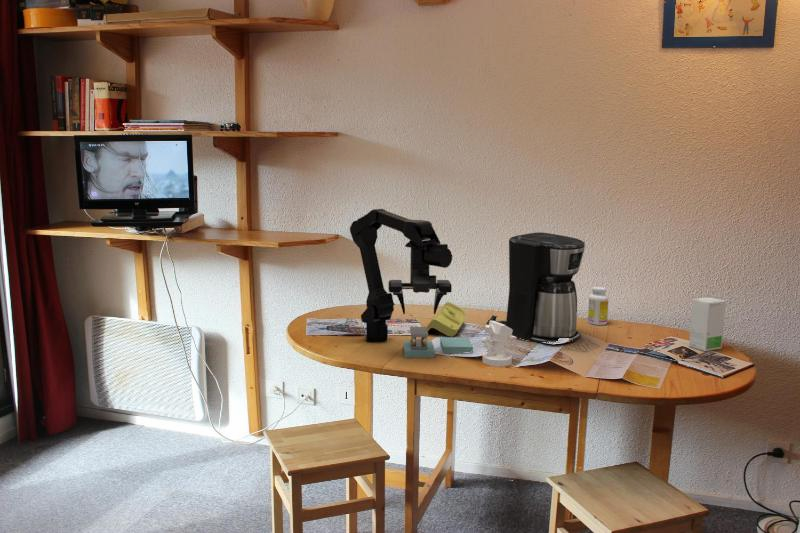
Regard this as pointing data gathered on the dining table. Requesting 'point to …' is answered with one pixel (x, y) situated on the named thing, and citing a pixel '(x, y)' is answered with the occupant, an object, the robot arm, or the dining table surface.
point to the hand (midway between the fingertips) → (419, 313)
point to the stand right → (456, 345)
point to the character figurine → (497, 345)
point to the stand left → (418, 351)
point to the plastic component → (448, 319)
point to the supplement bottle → (598, 306)
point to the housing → (418, 343)
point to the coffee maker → (543, 287)
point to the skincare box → (707, 323)
